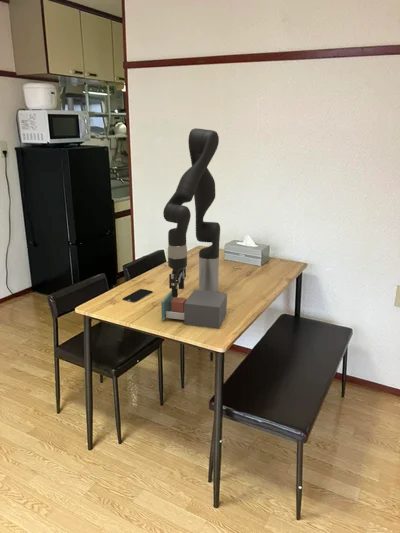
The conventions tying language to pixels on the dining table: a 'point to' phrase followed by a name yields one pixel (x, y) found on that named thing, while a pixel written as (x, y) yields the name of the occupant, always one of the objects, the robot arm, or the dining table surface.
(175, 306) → the block
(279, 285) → the dining table surface
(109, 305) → the dining table surface
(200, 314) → the housing
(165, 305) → the drawer
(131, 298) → the smartphone
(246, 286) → the dining table surface
